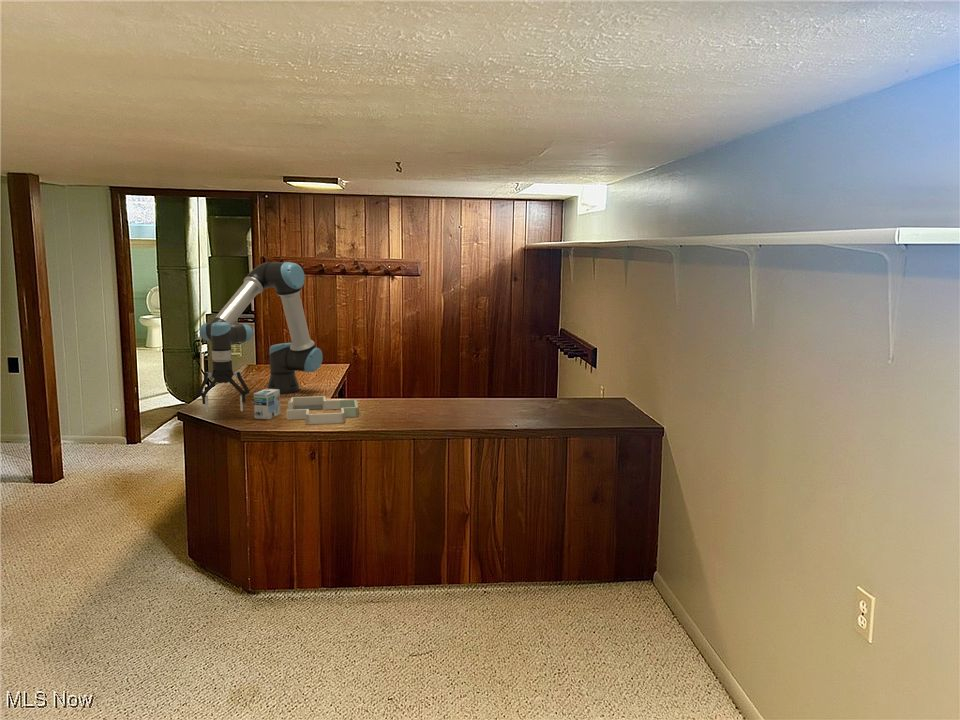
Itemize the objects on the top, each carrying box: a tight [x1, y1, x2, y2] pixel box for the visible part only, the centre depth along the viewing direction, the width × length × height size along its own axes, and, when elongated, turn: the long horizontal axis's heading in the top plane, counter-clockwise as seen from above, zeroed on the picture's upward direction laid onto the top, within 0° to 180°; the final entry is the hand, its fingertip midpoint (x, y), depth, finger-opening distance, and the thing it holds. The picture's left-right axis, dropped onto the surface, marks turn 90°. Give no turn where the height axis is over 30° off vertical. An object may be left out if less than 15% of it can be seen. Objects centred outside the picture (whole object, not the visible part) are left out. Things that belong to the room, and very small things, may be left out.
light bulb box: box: [253, 388, 281, 420], centre depth 302 cm, size 11×7×11 cm, turn 168°
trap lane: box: [285, 395, 359, 425], centre depth 307 cm, size 34×29×4 cm
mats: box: [293, 405, 324, 411], centre depth 307 cm, size 32×19×1 cm, turn 13°
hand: (224, 411), depth 298 cm, fingers open, 13 cm apart
